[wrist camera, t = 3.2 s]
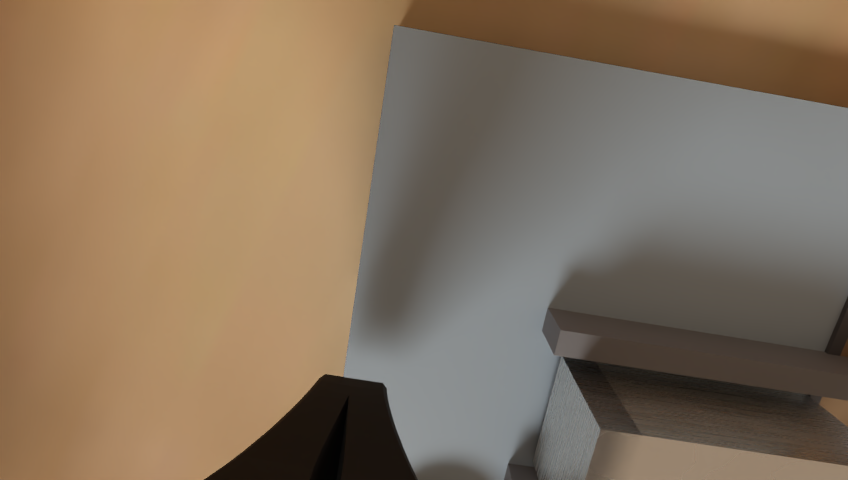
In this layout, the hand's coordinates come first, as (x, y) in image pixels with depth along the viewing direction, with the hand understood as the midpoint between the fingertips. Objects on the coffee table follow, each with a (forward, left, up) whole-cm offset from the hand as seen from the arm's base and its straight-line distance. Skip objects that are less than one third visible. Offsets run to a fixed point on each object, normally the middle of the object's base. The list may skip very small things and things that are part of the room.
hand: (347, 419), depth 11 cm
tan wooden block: (+8, 0, -2) cm, 8 cm away
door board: (+8, 0, -3) cm, 8 cm away
